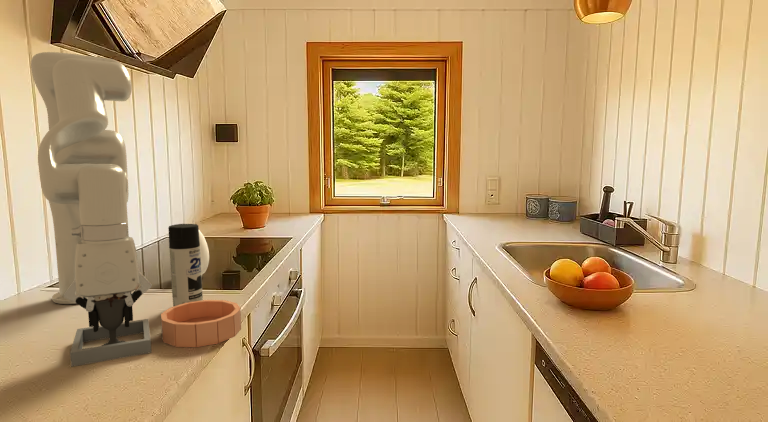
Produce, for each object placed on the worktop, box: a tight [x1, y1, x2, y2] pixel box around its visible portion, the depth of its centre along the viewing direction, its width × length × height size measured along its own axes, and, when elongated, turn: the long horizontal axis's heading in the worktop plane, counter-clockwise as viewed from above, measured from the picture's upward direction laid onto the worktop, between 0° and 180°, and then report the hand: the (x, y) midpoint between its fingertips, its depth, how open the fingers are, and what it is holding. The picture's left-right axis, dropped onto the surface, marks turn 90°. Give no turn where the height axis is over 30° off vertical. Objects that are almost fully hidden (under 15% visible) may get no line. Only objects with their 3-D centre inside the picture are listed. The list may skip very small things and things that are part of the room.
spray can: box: [167, 223, 204, 307], centre depth 112 cm, size 7×7×20 cm
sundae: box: [91, 293, 128, 346], centre depth 89 cm, size 7×7×15 cm
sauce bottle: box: [192, 217, 210, 276], centre depth 139 cm, size 8×8×18 cm
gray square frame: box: [69, 318, 152, 367], centre depth 90 cm, size 12×12×2 cm
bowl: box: [160, 299, 242, 348], centre depth 97 cm, size 15×15×4 cm
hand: (111, 326), depth 90 cm, fingers closed on sundae, 4 cm apart
